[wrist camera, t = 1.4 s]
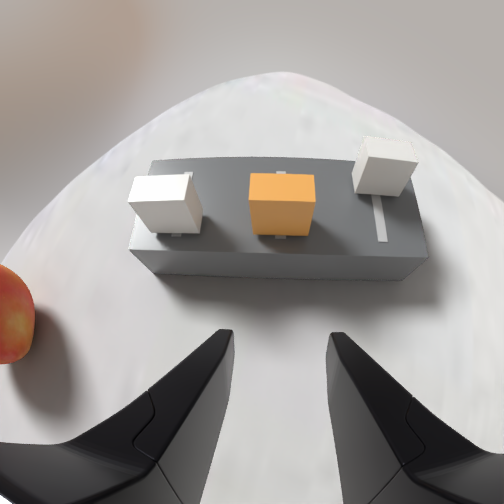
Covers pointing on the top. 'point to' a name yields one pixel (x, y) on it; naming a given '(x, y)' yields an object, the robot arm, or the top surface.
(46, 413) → the top surface
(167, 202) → the tab
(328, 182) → the grey cube slider board
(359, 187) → the tab
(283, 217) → the tab
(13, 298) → the apple
